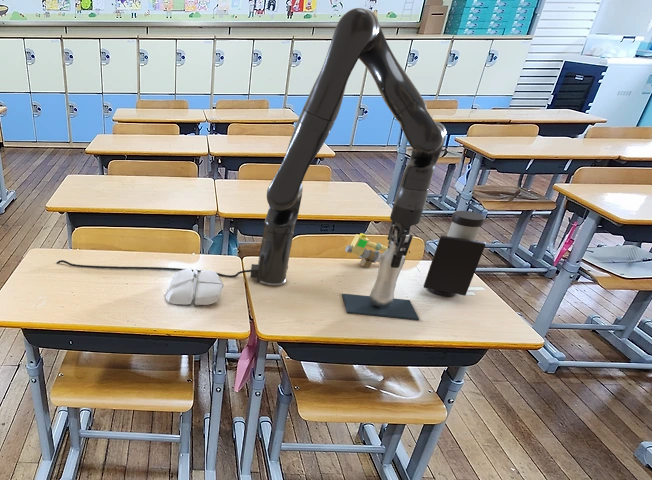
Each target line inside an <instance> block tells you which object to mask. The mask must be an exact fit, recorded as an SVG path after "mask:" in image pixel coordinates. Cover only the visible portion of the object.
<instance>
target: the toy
mask: <svg viewBox="0 0 652 480" xmlns="http://www.w3.org/2000/svg"><path fill="white" fill-rule="evenodd" d="M368 247H369V248H371V249H367V248H368ZM372 249H374V250H375V251H374V250H372ZM387 249H388V246H386V245H384V244H383V245H382V244H381V243H380V242H373V241H370V239H369V238H368V237H367V234H365V233H362V232H361V233H359V234H357V233H356V234H355V235H354V238H353V239H352V241H351V243H350V244H348V245H346V246H345V250H344V251H345V252H346V253H349V254H352V255H355V256H358V258H360V259H361V260H360V261H359V264H360V265H361V266H362V267H365V268H367V269H370V267H371V266H372V264H376V263H378V264H379V263H380V257H381V255H382V253H381V252H385V251H386V250H387Z"/></svg>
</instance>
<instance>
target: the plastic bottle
mask: <svg viewBox="0 0 652 480" xmlns="http://www.w3.org/2000/svg"><path fill="white" fill-rule="evenodd" d="M393 243H394V239H392V240H391V242H390V244H388V245H389V247H390V248H389V249H387V250H386V251H383V252H382V253H381V254H382V255H381V257H380V263H379V262H378V272H377V276H376V280H375V282H374V284H373V287H372V289H371V291H370V293H369V296H370V298H369V300H370V302H371V304H373V305H375V306H378V307H388V306H389V305H391V303H392V302H393V299H395V291H396V285H397V281H398V278H399V275H400V273H401V271H402V269H403V267H404V265H405V262H406V256H402V259H401V262H400V266H399V267H398V268H392V267H391V266H390V265H391V261H392V258H393V255H394V250H395V246H394V245H393ZM397 243H400V242H397ZM400 251H402V248H401V249H400Z"/></svg>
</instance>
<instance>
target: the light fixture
mask: <svg viewBox="0 0 652 480" xmlns="http://www.w3.org/2000/svg"><path fill="white" fill-rule="evenodd" d="M485 220H486V216H485V215H483V214H481V213H478V212H474V211H470V210H456V211H453V213H452V215H451V219H450V221H451V223H450V226H449V230H448V232H447V235H442V234H441V235H440V236H439V240H438V242H437V245H436V248H435V251H434V254H433V257H432V260H431V263H430V265H429V268H428V272H427V274H426V277H425V280H424V282H423V283H424V284H423V288H424V289H427V290H428V291H429V292H430V293H431V294H434V295H435V296H440V297H445V298H447V297H448V298H451V297H454V296H456V295H458V296H459V295H460V296H463V297H465V296H466V295H467V294H468V290H469V288H470V286H471V283H472V281H473V278H474V275H475V273H476V270H477V268H478V266H479V263H480V260H481V258H482V255H483V253H484V251H485V248H486V245H487V244H486V242H485V241H480V240H476V239H477V236H478V234H479V231H480V228H481V227H482V226H483V225H484V223H485Z"/></svg>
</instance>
